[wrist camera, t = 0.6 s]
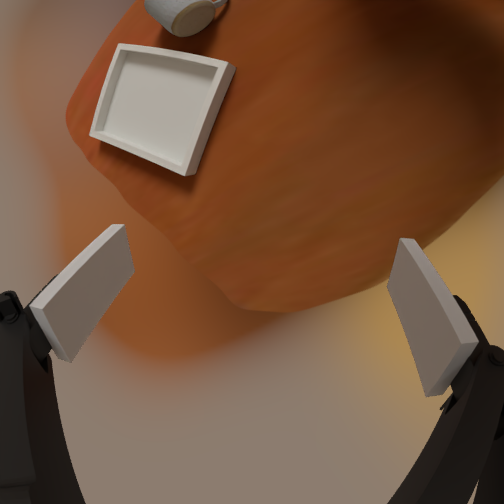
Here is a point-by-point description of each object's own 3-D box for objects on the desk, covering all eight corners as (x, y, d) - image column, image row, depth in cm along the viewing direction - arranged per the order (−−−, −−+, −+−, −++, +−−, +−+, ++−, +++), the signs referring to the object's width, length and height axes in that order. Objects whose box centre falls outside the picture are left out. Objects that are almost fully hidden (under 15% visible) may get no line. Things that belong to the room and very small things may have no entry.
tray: (130, 47, 35) (118, 43, 32) (236, 68, 33) (228, 62, 30) (101, 134, 42) (89, 135, 39) (195, 174, 39) (184, 176, 37)
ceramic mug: (189, 46, 33) (160, 30, 26) (162, 20, 32) (133, 4, 25) (245, 1, 29) (225, -24, 22) (212, -23, 28) (190, -46, 21)
